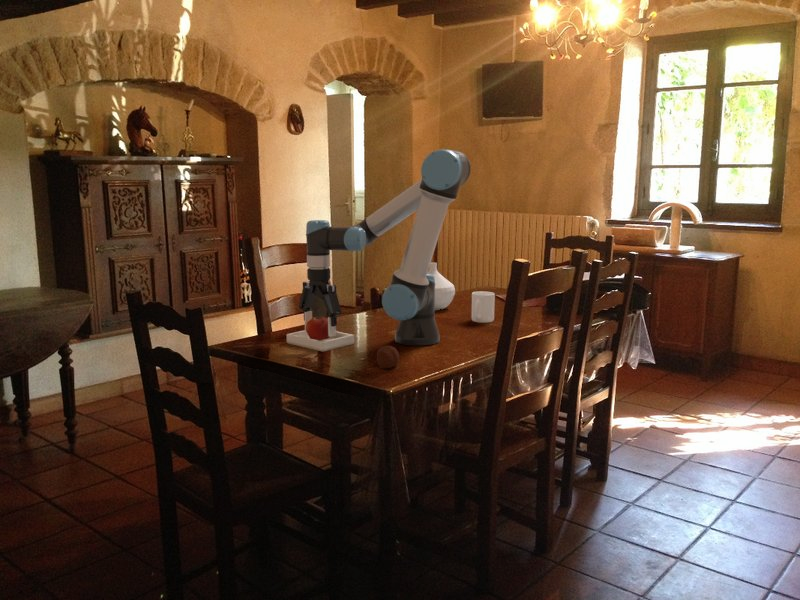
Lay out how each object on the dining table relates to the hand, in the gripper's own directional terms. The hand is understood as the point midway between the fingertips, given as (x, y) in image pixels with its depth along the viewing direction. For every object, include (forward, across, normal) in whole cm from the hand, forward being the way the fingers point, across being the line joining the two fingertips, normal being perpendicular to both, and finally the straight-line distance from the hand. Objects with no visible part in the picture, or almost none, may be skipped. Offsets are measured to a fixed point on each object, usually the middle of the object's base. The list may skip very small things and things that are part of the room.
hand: (320, 333), depth 234 cm
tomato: (+3, 0, -1) cm, 3 cm away
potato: (+4, -36, +6) cm, 37 cm away
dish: (+3, 0, 0) cm, 3 cm away
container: (+4, +14, -11) cm, 18 cm away
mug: (+4, -20, -64) cm, 67 cm away
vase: (+4, +11, -73) cm, 74 cm away
